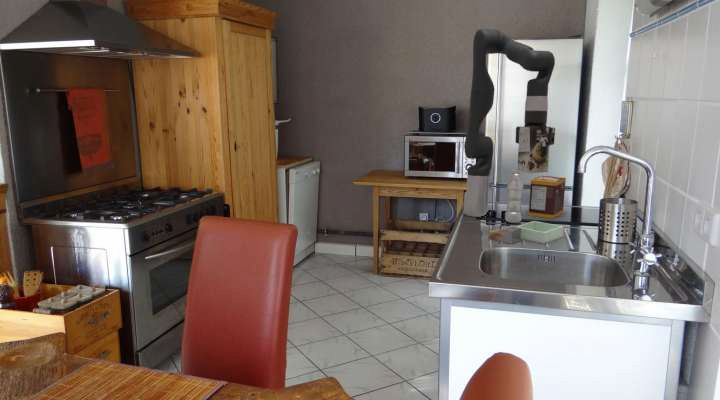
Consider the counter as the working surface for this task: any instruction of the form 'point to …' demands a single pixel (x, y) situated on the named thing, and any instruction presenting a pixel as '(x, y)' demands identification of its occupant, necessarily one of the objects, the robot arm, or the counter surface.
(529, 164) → the coffee box
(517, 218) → the plastic bottle
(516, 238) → the block
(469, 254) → the counter surface
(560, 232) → the green tray
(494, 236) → the brown square block
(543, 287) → the counter surface
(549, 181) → the supplement box
